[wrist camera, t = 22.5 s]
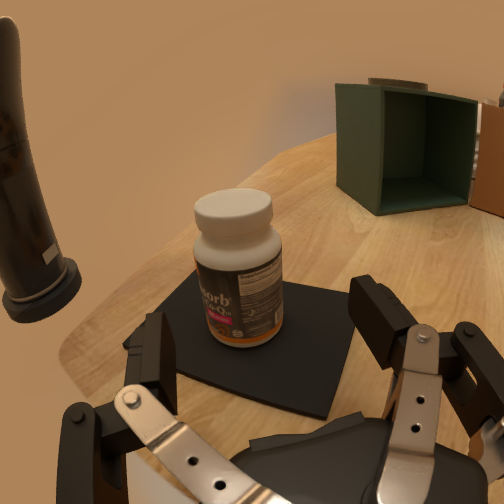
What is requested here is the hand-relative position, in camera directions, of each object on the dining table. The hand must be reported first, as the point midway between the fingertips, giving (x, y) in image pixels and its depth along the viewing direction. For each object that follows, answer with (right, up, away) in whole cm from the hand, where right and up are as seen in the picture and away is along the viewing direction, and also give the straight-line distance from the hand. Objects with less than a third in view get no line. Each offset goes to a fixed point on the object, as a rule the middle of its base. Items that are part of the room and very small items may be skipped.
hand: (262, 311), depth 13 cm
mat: (-1, -3, +11) cm, 12 cm away
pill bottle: (-1, -3, +11) cm, 11 cm away
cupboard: (+24, +12, +33) cm, 43 cm away
